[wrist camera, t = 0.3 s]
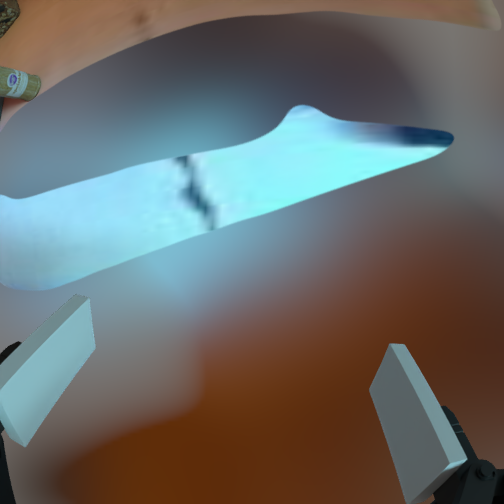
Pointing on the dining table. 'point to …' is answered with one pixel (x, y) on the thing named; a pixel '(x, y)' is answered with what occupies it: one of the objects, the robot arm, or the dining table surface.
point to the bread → (8, 14)
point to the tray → (1, 104)
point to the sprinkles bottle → (18, 84)
